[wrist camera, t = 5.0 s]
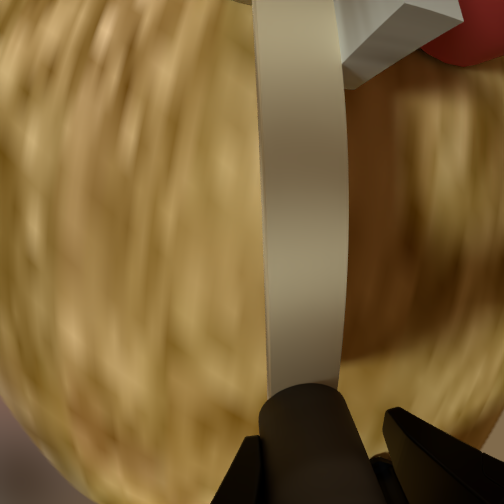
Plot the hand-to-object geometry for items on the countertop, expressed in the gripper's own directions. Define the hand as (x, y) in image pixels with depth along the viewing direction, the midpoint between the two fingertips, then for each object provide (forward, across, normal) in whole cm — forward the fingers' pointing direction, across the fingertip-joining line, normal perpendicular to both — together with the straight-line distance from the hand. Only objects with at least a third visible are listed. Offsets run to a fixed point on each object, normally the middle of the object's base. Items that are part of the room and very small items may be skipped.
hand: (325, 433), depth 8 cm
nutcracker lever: (+4, 0, -9) cm, 10 cm away
